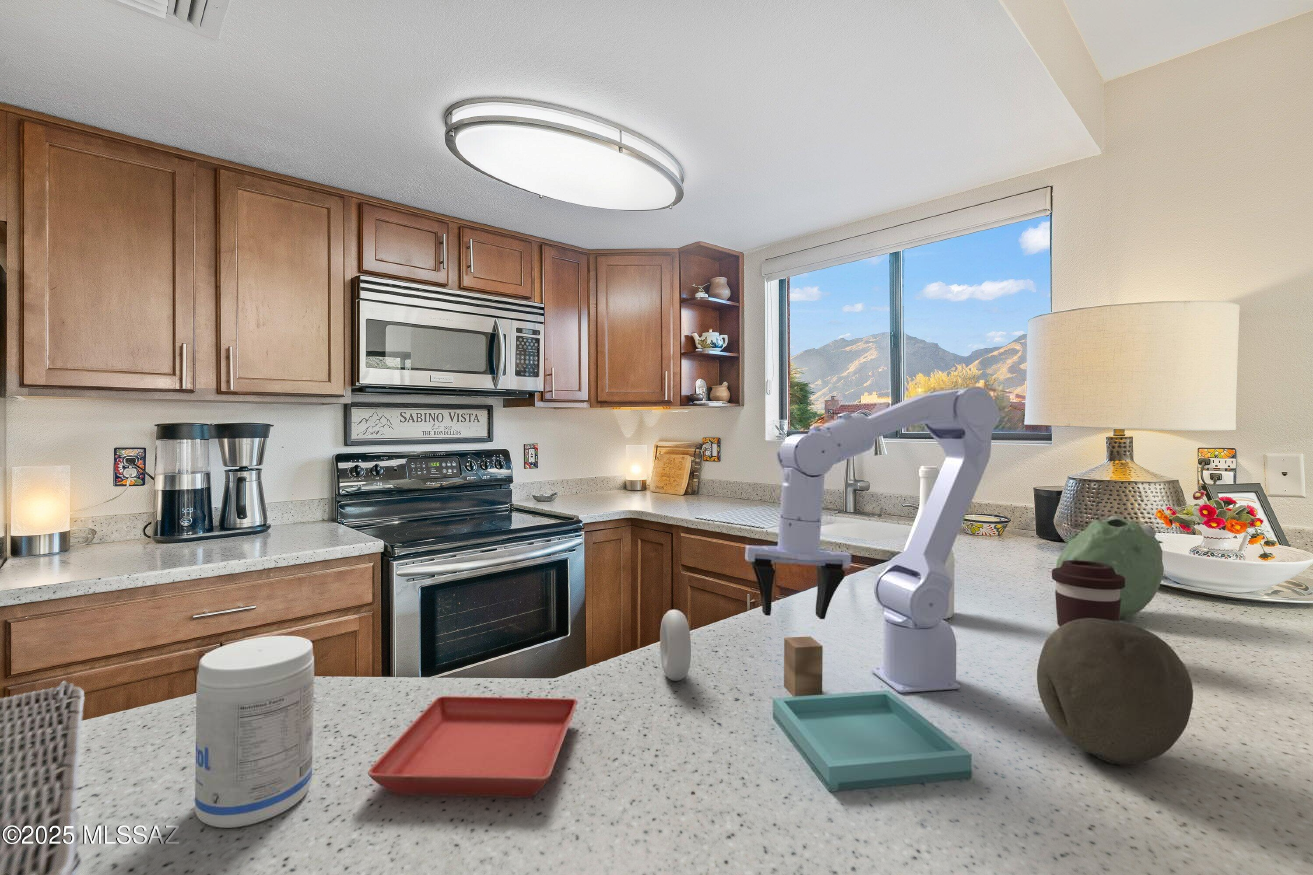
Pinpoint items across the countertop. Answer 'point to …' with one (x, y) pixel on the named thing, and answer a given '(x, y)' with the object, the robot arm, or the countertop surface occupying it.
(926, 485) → the wine bottle
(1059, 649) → the grey river stone
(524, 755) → the plant saucer
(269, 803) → the supplement tub
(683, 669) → the donut
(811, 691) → the block
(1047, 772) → the countertop surface
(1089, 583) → the coffee cup
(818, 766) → the tray
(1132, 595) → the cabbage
